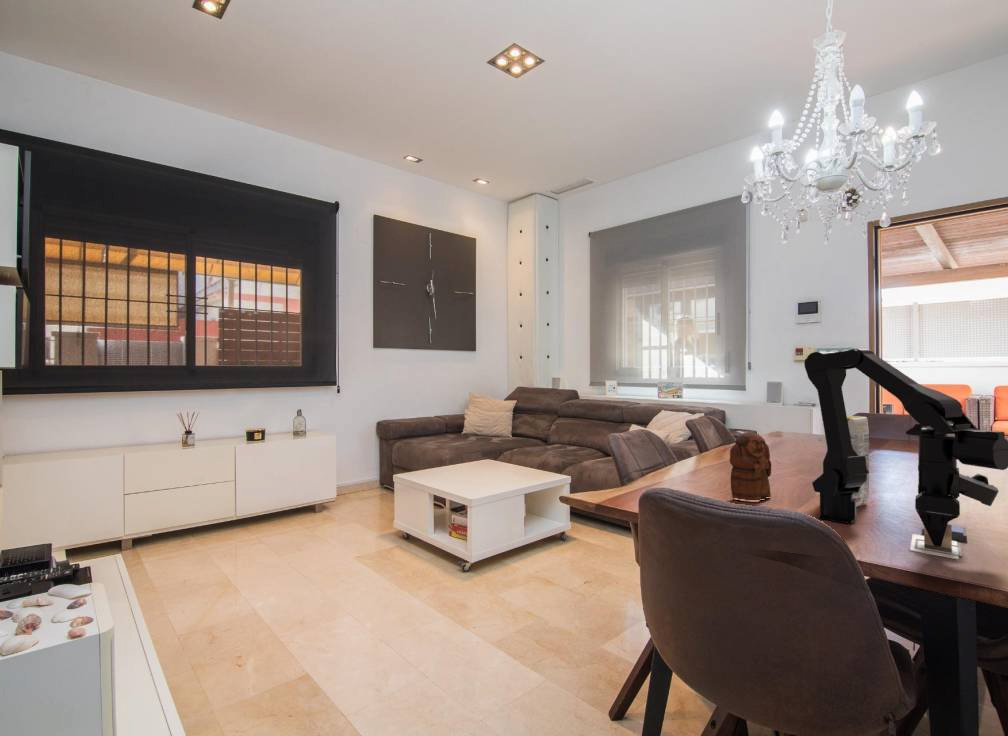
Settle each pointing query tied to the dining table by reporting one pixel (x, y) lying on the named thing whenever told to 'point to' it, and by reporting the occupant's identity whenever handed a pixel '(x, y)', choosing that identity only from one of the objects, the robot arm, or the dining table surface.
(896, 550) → the dining table surface
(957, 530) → the pad
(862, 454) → the juice carton
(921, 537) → the white rectangular plate
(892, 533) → the dining table surface
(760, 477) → the wooden figurine
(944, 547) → the stamp
